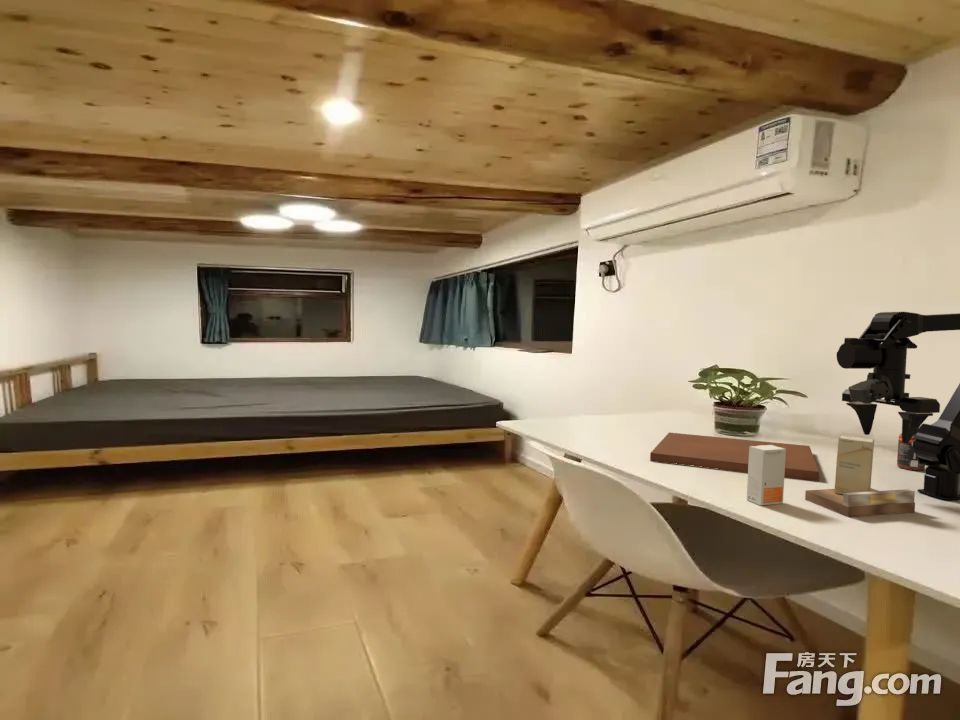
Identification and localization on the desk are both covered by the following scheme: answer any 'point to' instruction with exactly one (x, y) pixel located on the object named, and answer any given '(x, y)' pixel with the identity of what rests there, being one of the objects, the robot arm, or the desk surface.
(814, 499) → the brown flat block
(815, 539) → the desk surface
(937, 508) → the desk surface
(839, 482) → the skincare box
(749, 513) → the desk surface
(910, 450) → the supplement bottle
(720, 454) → the brown wooden cutting board
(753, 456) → the skincare box
